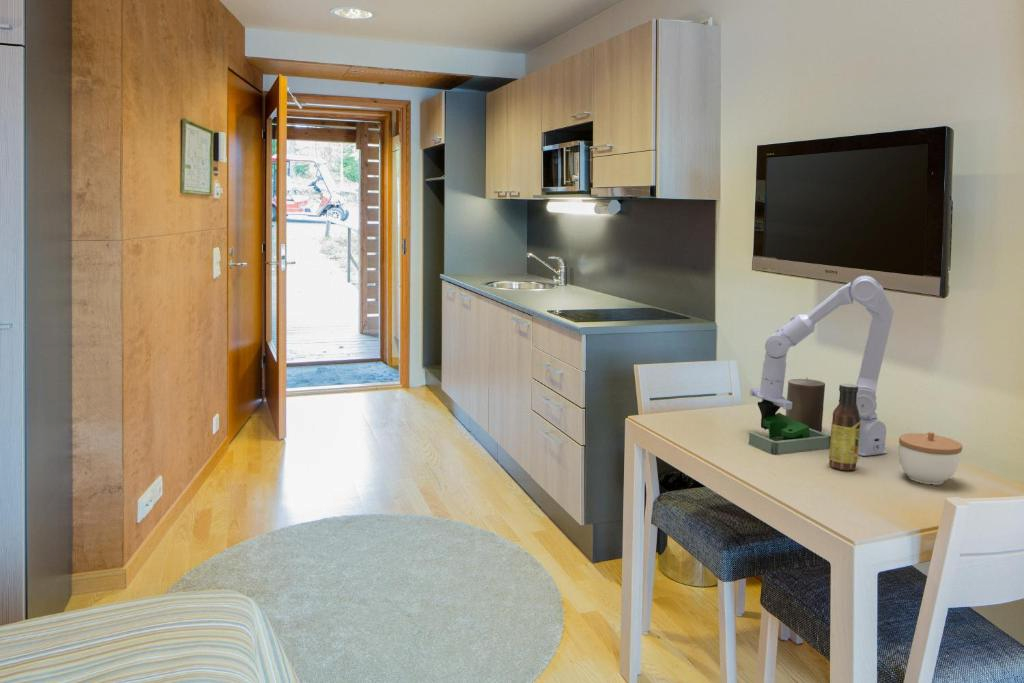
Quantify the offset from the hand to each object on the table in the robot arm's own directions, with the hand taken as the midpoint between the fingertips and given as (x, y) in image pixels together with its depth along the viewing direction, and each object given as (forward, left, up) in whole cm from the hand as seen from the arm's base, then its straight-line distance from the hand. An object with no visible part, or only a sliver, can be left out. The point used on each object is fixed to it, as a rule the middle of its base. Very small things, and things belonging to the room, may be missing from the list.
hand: (766, 428), depth 208 cm
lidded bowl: (-39, -13, -3) cm, 41 cm away
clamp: (-6, -1, -2) cm, 6 cm away
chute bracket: (-8, -1, -3) cm, 8 cm away
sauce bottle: (-26, -1, -3) cm, 26 cm away
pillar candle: (+3, -15, -3) cm, 15 cm away
